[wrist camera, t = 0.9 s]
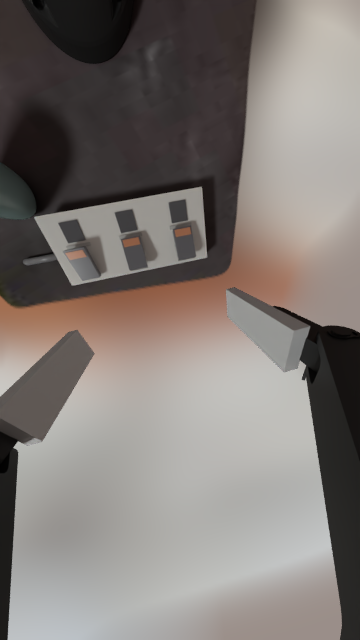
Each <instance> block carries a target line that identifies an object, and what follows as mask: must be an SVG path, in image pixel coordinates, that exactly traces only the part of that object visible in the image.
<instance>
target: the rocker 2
mask: <svg viewBox="0 0 360 640" xmlns="http://www.w3.org/2000/svg"><path fill="white" fill-rule="evenodd" d="M121 242H122V246H123V249H124V253H125V256H126V260H127V263H128V267H129V270H130V271H133V270H138V269H143V268H147V267H148V264H147V260H146V257H145V253H144V249H143V245H142V241H141V237H140V235H139V236H134V237H129V238H123V239H121Z"/></svg>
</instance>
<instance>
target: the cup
mask: <svg viewBox="0 0 360 640" xmlns="http://www.w3.org/2000/svg"><path fill="white" fill-rule="evenodd" d="M35 212H36V200H35V197H34V195H33V192H32V191H31V189H30V187H29V186H28V185H27V183H26V182H25V181H24V180H23V179H22V178H21V177H20V176H19V175H18V174H17V173H15V172H14V171H13V170H12V169H10V168H9V167H7V166H6V165H4V164H3V163H1V162H0V218H4V219H12V220H24V219H28V218H31V217H32V216H34V214H35Z"/></svg>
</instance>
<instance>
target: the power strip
mask: <svg viewBox="0 0 360 640" xmlns="http://www.w3.org/2000/svg"><path fill="white" fill-rule="evenodd" d="M34 218H35V220H36V222H37V224H38V226H39V227H40V229H41V231H42V233H43V234H44V236H45V238H46V240H47V242H48V243H49V245H50V247H51V249H52V251H53V252H54V254H50V255H44V256H39V257H34V258H29V259H24V260H23V263H24V264H25V265H33V264H38V263H43V262H48V261H53V260H58V261H59V263H60V265H61V267H62V268H63V270H64V272H65V274H66V276H67V277H68V279H69V281H70V283H71V284H72V286H73V285H78V284H83V283H88V282H92V281H97V280H102V279H107V278H112V277H116V276H121V275H126V274H131V273H136V272H140V271H145V270H150V269H155V268H159V267H164V266H169V265H174V264H179V263H183V262H188V261H193V260H198V259H202V258H207V248H206V235H205V221H204V208H203V194H202V187H197V188H192V189H186V190H181V191H175V192H170V193H164V194H159V195H153V196H147V197H142V198H136V199H131V200H125V201H120V202H114V203H109V204H103V205H98V206H92V207H87V208H81V209H76V210H70V211H65V212H59V213H54V214H48V215H43V216H37V217H34ZM190 225H191V228H192V234H193V240H194V246H195V252H196V257H195V258H191V259H186V260H181V261H178V257H177V252H176V247H175V242H174V237H173V232H172V231H173V229H175V228H180V227H185V226H190ZM139 235H140V237H141V241H142V245H143V249H144V253H145V257H146V260H147V264H148V267H147V268H143V269H138V270H133V271H130V270H129V267H128V263H127V260H126V256H125V253H124V249H123V246H122V242H121V239H123V238H129V237H134V236H139ZM82 246H86V248H87V249H88V251H89V253H90V255H91V257H92V258H93V260H94V262H95V264H96V266H97V268H98V269H99V271H100V273H101V277H99V278H94V279H89V280H85V281H82V280H81V278H80V277H79V275H78V274H77V272H76V271H75V269H74V268H73V266H72V265H71V263H70V262H69V260H68V259H67V257H66V256H65V254H64V253H63V251H64V250H67V249H72V248H77V247H82Z"/></svg>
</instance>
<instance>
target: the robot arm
mask: <svg viewBox="0 0 360 640" xmlns="http://www.w3.org/2000/svg"><path fill="white" fill-rule="evenodd" d="M22 1H23V3H24V5H25V6H26V8H27V10H28V11H29V13H30V14H31V16H32V17H33V19H34V20H35V22H36V23H37V24H38V26H39V27H40V28H41V30H42V31H43V32H44V33H45V34H46V36H47V37H48V38H49V39H50V40H51V41H52V42H53V43H54V44H55V45H56V46H57V47H58V48H60V49H61V50H62V51H63V52H65V53H66V54H68V55H69V56H71V57H73V58H75V59H77V60H79V61H82V62H85V63H93V64H94V63H101V62H104V61H106V60H108V59H110V58H111V57H112V56H114V55H115V54H116V52H117V51H118V50H119V49H120V47H121V46H122V44H123V42H124V40H125V38H126V35H127V32H128V29H129V26H130V22H131V17H132V10H133V0H22ZM226 297H227V315H228V318H229V319H230V320H232V322H233V323H234V324H235V325H236V326H238V328H239V329H241V330H242V331H243V332H244V333H245V334H246V335H247V336H248V337H249V338H250V339H251V340H252V341H253V342H254V343H255V344H256V345H257V346H258V347H259V348H260V349H261V350H262V351H263V352H264V353H265V354H266V355H267V356H268V357H269V358H270V359H271V360H272V361H273V362H274V363H275V364H276V365H277V366H278V367H279V368H280V369H281V370H282V371H283V372H287V371H290V370H294V369H297V368H298V365H299V362H300V360H301V361H302V362H303V363H304V364H305V365H306V368H305V371H304V374H303V377H302V380H305V378H306V379H307V386H308V392H309V399H310V406H311V412H312V418H313V425H314V432H315V439H316V445H317V452H318V458H319V465H320V472H321V478H322V485H323V492H324V498H325V505H326V511H327V518H328V525H329V531H330V538H331V544H332V551H333V557H334V564H335V571H336V578H337V585H338V591H339V598H340V604H341V613H342V630H341V637H340V640H360V333H359V332H357V331H355V330H353V329H350V328H346V327H341V326H324V327H322V326H320V325H318V324H315V323H314V322H311V321H310V320H307V319H305V318H303V317H301V316H298V315H297V314H295V313H291V311H289V310H287V309H284V308H281V307H277V306H270V305H268V304H266V303H264V302H262V301H260V300H259V299H257V298H255V297H253V296H251V295H249V294H247V293H245V292H243V291H241V290H239V289H237V288H235V287H234V288H230V289H226ZM93 355H94V352H93V351H92V349H91V348H90V347H89V345H88V344H87V342H86V341H85V340H84V338H83V337H82V336H81V334H80V333H79V332H78V330H75V331H71V332H68V333H67V334H66V335H65V336H64V337H63V338H62V339H61V340H60V341H59V342H58V343H56V345H54V346H53V347H52V348H51V349H50V350H49V351H48V352H47V353H46V354H45V355H44V356H43V357H42V358H41V359H40V360H39V361H38V362H37V363H35V364H34V365H33V366H32V367H31V368H30V369H29V370H28V371H27V372H26V373H25V374H24V375H23V376H22V377H21V378H20V379H19V380H18V381H17V382H15V383H14V384H13V385H12V386H11V387H10V388H9V389H8V390H7V391H6V392H5V393H4V394H3V395H2V396H1V397H0V640H7V638H8V621H9V603H10V586H11V585H10V584H11V569H12V551H13V534H14V516H15V499H16V482H17V481H16V480H17V464H18V451H17V450H16V449H14V448H13V447H14V446H15V444H16V443H17V442H18V441H19V442H21V443H23V444H25V445H27V446H28V445H32V444H35V443H39V442H42V441H43V439H44V438H45V436H46V434H47V433H48V431H49V429H50V428H51V426H52V424H53V422H54V421H55V419H56V417H57V416H58V414H59V412H60V411H61V409H62V407H63V406H64V404H65V402H66V401H67V399H68V397H69V396H70V394H71V392H72V390H73V389H74V387H75V385H76V384H77V382H78V380H79V379H80V377H81V375H82V374H83V372H84V370H85V369H86V367H87V365H88V364H89V362H90V360H91V359H92V357H93Z"/></svg>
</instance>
